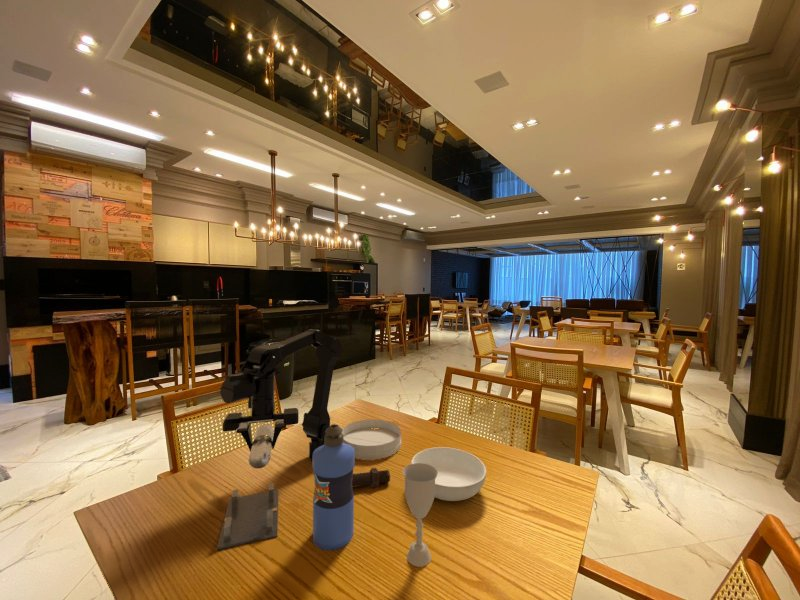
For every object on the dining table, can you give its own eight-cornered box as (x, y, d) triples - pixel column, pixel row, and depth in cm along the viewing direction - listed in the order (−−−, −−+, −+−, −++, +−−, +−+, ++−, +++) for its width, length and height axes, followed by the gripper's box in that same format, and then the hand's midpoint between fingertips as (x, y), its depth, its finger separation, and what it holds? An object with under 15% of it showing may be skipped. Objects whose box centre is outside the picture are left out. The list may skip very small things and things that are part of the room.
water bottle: (336, 514, 80) (336, 414, 79) (362, 532, 74) (363, 425, 73) (303, 536, 73) (304, 426, 72) (330, 558, 67) (330, 439, 66)
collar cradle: (278, 491, 88) (278, 478, 88) (277, 536, 72) (277, 520, 72) (229, 501, 84) (229, 487, 84) (216, 550, 68) (216, 533, 68)
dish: (328, 454, 109) (328, 440, 109) (355, 428, 130) (355, 416, 130) (390, 466, 103) (390, 450, 102) (408, 436, 124) (408, 423, 124)
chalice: (436, 545, 70) (437, 464, 70) (436, 572, 64) (438, 482, 63) (403, 542, 71) (403, 462, 71) (400, 568, 64) (400, 480, 64)
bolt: (389, 490, 93) (336, 497, 89) (386, 473, 97) (335, 479, 93) (392, 478, 90) (338, 485, 86) (389, 461, 94) (337, 467, 90)
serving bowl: (488, 519, 79) (489, 491, 79) (404, 507, 83) (404, 480, 83) (483, 472, 99) (484, 450, 99) (416, 464, 103) (416, 443, 103)
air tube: (274, 439, 97) (273, 422, 97) (271, 466, 82) (269, 446, 82) (255, 442, 96) (255, 425, 95) (249, 470, 80) (247, 450, 80)
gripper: (298, 383, 99) (297, 433, 99) (230, 387, 93) (229, 441, 93) (298, 394, 88) (298, 450, 89) (222, 399, 83) (221, 460, 83)
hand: (262, 449), depth 89 cm, fingers closed on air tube, 5 cm apart
